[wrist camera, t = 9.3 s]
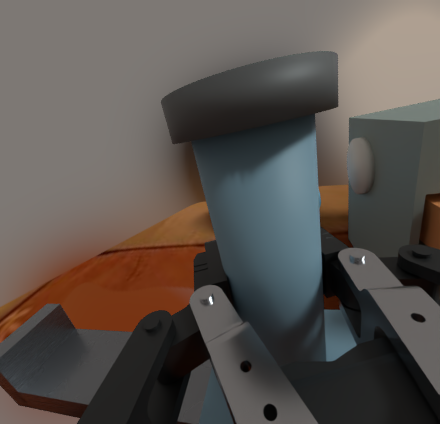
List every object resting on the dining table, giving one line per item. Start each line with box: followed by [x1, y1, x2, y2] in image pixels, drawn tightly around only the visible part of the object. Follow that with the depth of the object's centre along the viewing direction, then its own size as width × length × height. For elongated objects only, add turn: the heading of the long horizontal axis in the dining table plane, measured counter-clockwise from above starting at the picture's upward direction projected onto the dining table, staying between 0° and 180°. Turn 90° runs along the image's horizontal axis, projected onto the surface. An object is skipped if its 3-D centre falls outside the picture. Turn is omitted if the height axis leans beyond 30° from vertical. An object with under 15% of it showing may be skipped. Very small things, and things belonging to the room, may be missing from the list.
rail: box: [0, 304, 212, 424], centre depth 14 cm, size 28×5×5 cm, turn 77°
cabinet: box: [347, 99, 440, 257], centre depth 17 cm, size 11×12×14 cm
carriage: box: [161, 51, 356, 424], centre depth 10 cm, size 8×7×16 cm
